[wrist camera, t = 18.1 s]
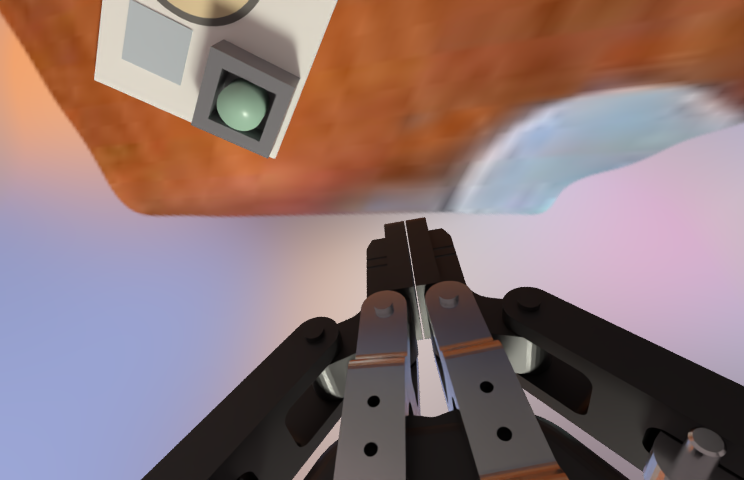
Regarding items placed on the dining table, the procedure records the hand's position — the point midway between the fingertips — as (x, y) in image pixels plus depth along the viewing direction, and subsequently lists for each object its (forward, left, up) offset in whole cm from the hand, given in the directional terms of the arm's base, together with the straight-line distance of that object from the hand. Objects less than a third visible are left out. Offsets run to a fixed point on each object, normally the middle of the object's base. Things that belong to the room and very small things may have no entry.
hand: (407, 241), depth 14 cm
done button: (+7, -10, -25) cm, 28 cm away
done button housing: (+7, -10, -27) cm, 30 cm away
